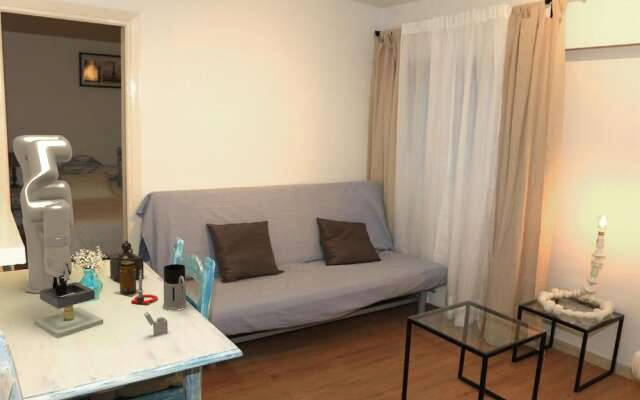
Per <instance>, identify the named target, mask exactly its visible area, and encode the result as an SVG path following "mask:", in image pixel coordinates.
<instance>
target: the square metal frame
mask: <svg viewBox="0 0 640 400" xmlns="http://www.w3.org/2000/svg"><path fill="white" fill-rule="evenodd" d="M95 293H96V292H95V289H93V288H90V287H88V286H86V285H84V284H81V283H79V282H77V281H74V282H69V283H67V294H66V295H63V296H58V295H57V290H56V287H53V288H49V289H45V290H41V291H40V293H39V295H40V296H39V297H40V298H39V299H40V300H41V301H42V302H44V303H46V304H48V305H50V306H51V307H53V308H56V309H57V310H60V309H63V308H64V307H68V306H71V305H73V306H74V305H78V304H82V303H85V302H90V301H92V300H95V299H96V296H95V295H96V294H95Z"/></svg>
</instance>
